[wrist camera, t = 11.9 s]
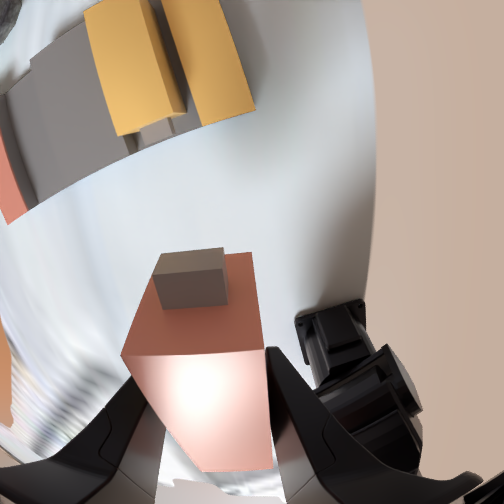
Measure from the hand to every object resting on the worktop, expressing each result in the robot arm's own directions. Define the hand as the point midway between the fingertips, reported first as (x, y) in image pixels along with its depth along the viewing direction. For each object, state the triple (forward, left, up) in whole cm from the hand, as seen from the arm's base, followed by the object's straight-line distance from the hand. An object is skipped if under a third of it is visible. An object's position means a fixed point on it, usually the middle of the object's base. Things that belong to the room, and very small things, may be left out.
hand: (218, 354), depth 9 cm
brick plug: (-1, 0, -1) cm, 1 cm away
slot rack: (+12, +6, -12) cm, 18 cm away
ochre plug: (+12, +1, -11) cm, 16 cm away
